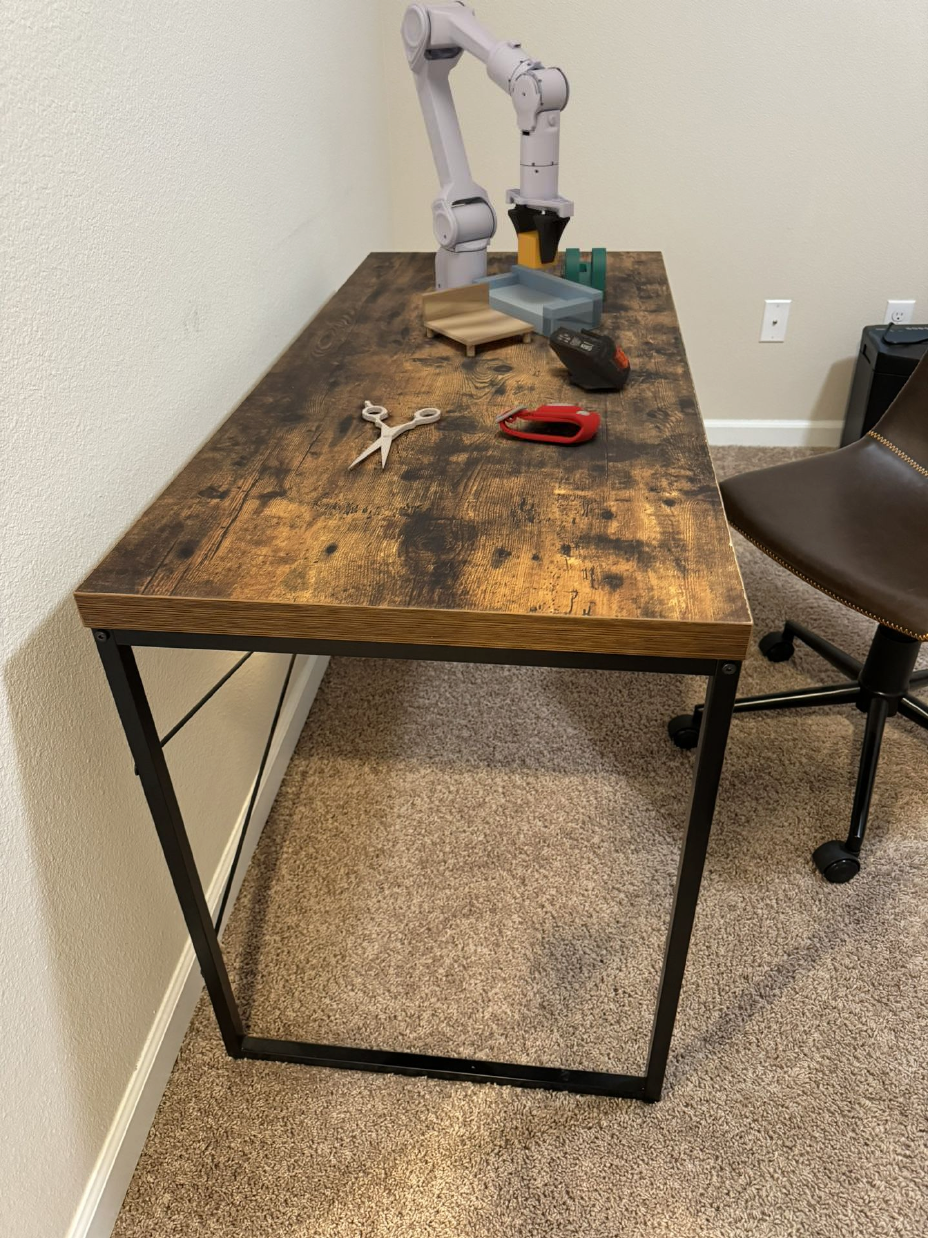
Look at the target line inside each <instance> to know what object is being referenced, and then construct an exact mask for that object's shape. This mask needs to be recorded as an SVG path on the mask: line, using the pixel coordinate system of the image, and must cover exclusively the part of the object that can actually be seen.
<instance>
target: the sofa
mask: <svg viewBox="0 0 928 1238" xmlns="http://www.w3.org/2000/svg"><path fill="white" fill-rule="evenodd" d="M484 281H486V282H489V308H491V309H493V310H496V311H498V312H501V313H503V314H506V315H508V316H511V317H513V318H516V319H518V320H521V321H523V322H526V323H528V324H531V325H533V326H534V331H533V332H534V333H536V334H539V335H541V336H543V337H546V338H549V339H550V335H551V334H552V332H553V331H556V330H558V328H559V327H560V326H562V327H565V328H568V329H571V330H574V331H577V332H579V333H581V329H582V328H584V329H586V330H589V331H590V330H592V329H596V328H601V327H602V313H603V301H602V296H603V292H602V291H599V290H596V289H593V288H590V287H587V286H584V285H581V284H578V283H575V282H572V281H569V280H566V279H563V277H559V276H556V275H554V274H551V273H547V272H544V271H542V270H538V269H533V268H530V267H527V266H524V265H521V264H514V265H511V266H510V272H504V273H500V274H499V273H498V274H495V275H489V276H487V277H484V278H479V279H474V280H472V284H475V283H479V282H484Z"/></svg>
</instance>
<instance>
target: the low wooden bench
mask: <svg viewBox="0 0 928 1238" xmlns="http://www.w3.org/2000/svg"><path fill="white" fill-rule="evenodd" d="M421 303H422V320H423V323H422V324H423V326H424V327H425V328H426V338H428V339H429V338H434V337H435V336H436V335H435V332H437V333H439V334H441V335H443V336H446V337H448V338H450V339H452V340H455V341H457V342H459V343H461V344H463V345H465V346H466V357H468V358H469V357H470V358H472V357H475V356H476V352H475V351H476V345H481V344H485V343H490V342H493V341H497V340H502V339H505V338H506V339H507V338H510V337H514V336H518V335H522V342H523V343H524V344H528V343H531V341H532V332H534V326H533V325H531V324H528V323H526V322H523V321H521V320H518V319H516V318H513V317H511V316H508V315H506V314H503V313H501V312H498V311H496V310H493V309H491V308H489V282H486V281H484V282H479V283H475V284H470V285H465V286H460V287H455V288H450V289H445V290H440V291H436V290H435V291H430V292H427V293H422V294H421Z"/></svg>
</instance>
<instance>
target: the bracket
mask: <svg viewBox="0 0 928 1238" xmlns="http://www.w3.org/2000/svg"><path fill="white" fill-rule="evenodd" d="M580 251H581V250H580V247H566V248H565V257H564V264H563V267H562V278H563V279H566V280H569V281H572V282H575V283H578V284H581V285H584V286H587V287H590V288H593V289H596V290H599V291H602V292H603V296H602V302H604V301H605V297H606V295H605V294H606V282H607V281H606V278H607V248H606V247H592V248H591V252H590V253H591V254H590V255H591V256H590V261H581V252H580Z"/></svg>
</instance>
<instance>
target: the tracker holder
mask: <svg viewBox="0 0 928 1238" xmlns="http://www.w3.org/2000/svg"><path fill="white" fill-rule="evenodd" d="M517 418H518V419H521V420H522V421H529V422H546V423H547V422H549V423H550V422H552V423H570V424H575V425H577V426H579V427H580V430H579V431H578V432H577V434H576V435H574V436H573V437H569V436H560V435H551V434H541V433H532V432H524V431H519V430H516V429H513V428H511V427H509V426H508V425H507V424H506V423H508V424H513V423H514V422H516V421H517V420H518V419H517ZM494 423H495V424H498V426H499V427H500V429H501V430H502V431H503V432H505V433H506V434H508V435H511V436H514V437H516V438H517V437H518V438H521V439H526V440H534V441H542V442H550V443H560V444H577V443H584V442H586V441H588V440H590V439H591V438H592V437H593V436H594V435H595V434H596V433H597V431H598V429H599V427H600V423H601V418H600V415H599V413H597V412H593V411H587V410H586V411H585V410H583V408H582V407H580V406H579V405H576V404H570V403H566V402H565V403H564V402H563V403H562V402H560V403H559V402H558V403H556V402H555V403H548V404H543V405H540V406H538V407H537V408H536V409H535V410H528V406H527V405H519V406H517V407H515V408H511V409H510V408H508V409H506V410H504V411H502V412H500V413H499V414H498V415H496V416H495V419H494Z"/></svg>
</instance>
